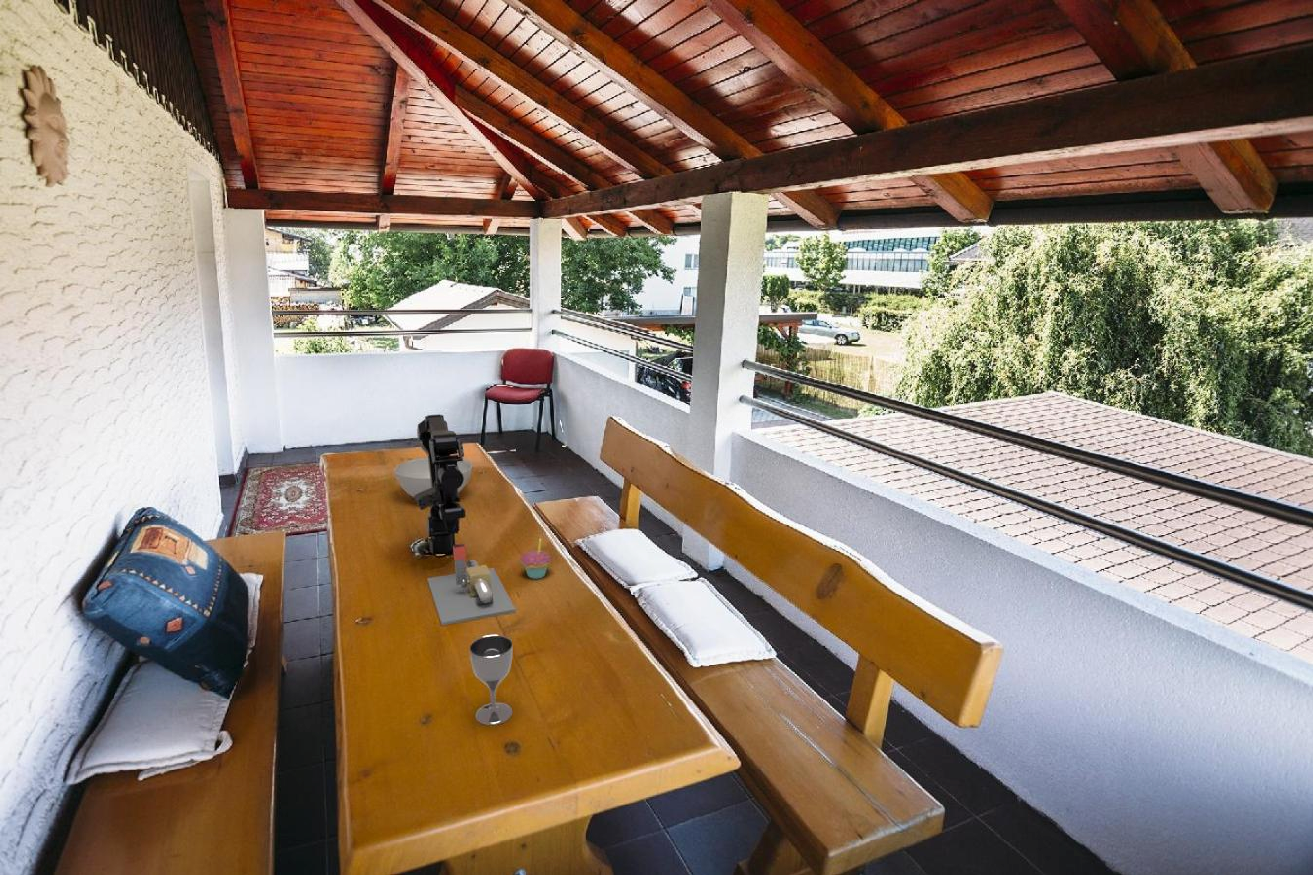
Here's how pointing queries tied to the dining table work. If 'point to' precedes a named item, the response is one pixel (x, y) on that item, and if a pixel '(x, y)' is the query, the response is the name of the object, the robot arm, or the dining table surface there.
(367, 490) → the dining table surface
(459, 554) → the valve lever
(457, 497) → the robot arm
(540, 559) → the cupcake
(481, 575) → the ball valve
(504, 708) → the wine glass
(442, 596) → the mounting board
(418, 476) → the decorative bowl
